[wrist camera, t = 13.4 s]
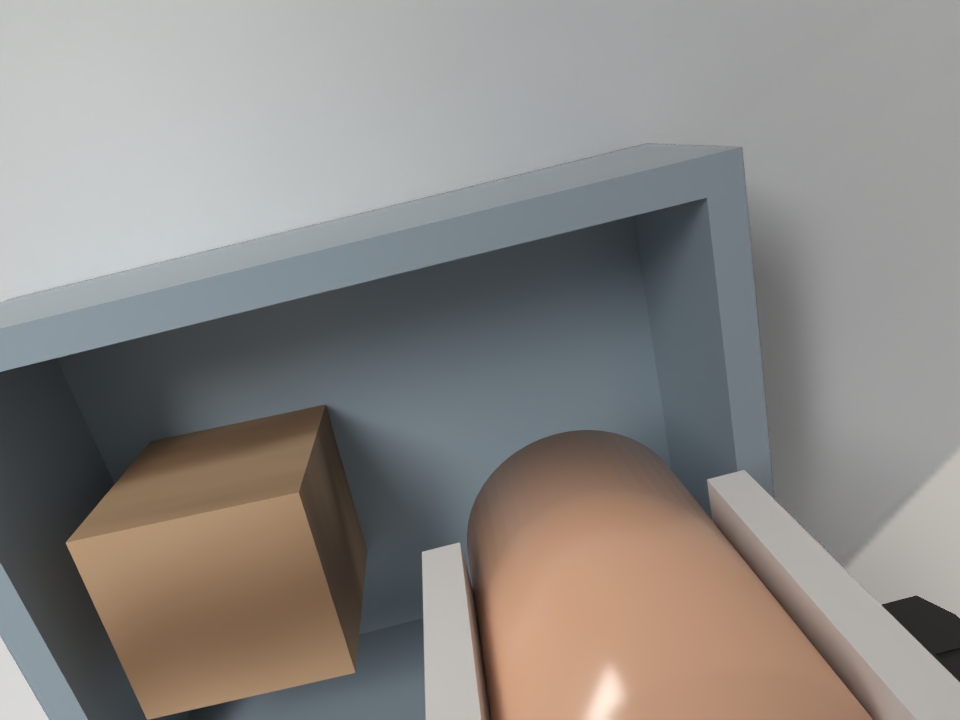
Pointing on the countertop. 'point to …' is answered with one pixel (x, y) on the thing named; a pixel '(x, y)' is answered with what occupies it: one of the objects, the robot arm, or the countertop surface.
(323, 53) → the countertop surface
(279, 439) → the cube
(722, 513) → the robot arm
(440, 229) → the tote
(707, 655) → the capsule
